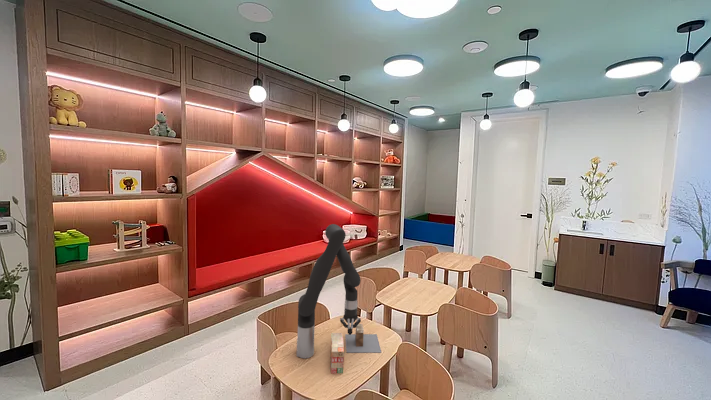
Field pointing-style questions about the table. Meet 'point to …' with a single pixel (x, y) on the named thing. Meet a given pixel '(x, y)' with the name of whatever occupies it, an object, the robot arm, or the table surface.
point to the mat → (368, 344)
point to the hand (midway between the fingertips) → (349, 333)
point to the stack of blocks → (337, 353)
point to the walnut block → (359, 335)
